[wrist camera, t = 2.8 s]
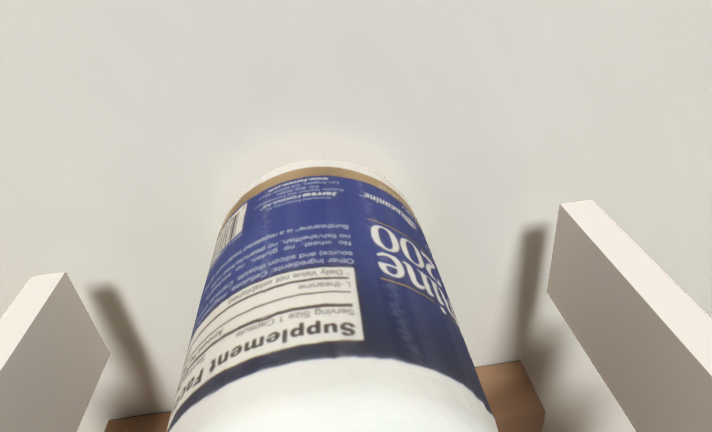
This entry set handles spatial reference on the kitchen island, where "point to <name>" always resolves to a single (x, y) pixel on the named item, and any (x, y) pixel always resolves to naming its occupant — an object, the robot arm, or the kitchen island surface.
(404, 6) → the kitchen island surface
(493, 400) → the holder block
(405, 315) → the pill bottle
